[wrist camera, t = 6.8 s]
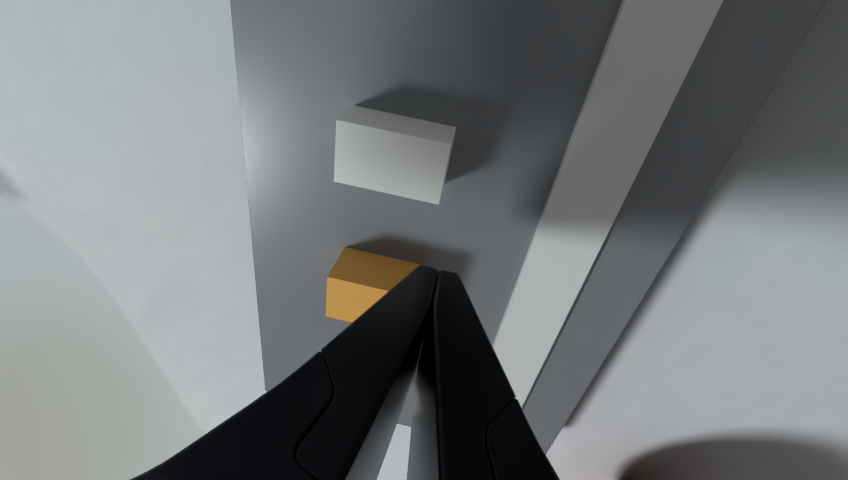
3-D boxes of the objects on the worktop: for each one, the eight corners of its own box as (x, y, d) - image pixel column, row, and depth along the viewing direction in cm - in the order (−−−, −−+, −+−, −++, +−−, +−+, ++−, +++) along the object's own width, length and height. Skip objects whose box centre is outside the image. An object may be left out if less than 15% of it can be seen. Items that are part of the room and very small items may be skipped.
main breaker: (427, 265, 11) (418, 298, 10) (419, 302, 12) (411, 336, 11) (345, 247, 11) (326, 276, 10) (342, 284, 12) (325, 315, 11)
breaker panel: (901, -206, 6) (1084, -293, 4) (540, 430, 16) (545, 492, 14) (241, -316, 7) (135, -440, 5) (279, 366, 17) (249, 418, 15)
